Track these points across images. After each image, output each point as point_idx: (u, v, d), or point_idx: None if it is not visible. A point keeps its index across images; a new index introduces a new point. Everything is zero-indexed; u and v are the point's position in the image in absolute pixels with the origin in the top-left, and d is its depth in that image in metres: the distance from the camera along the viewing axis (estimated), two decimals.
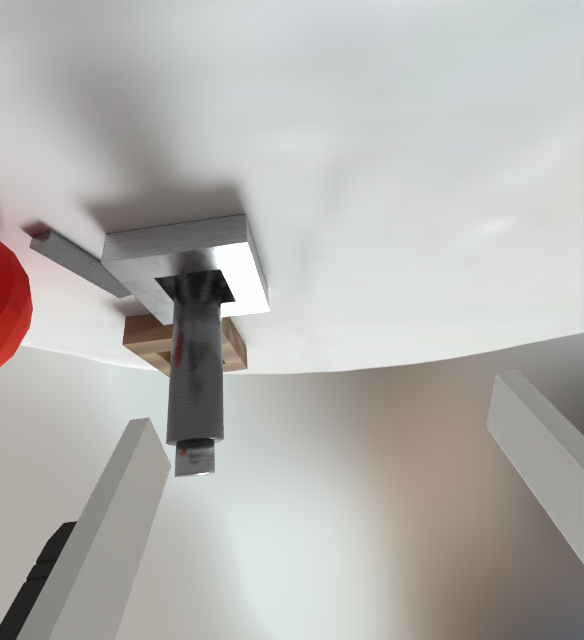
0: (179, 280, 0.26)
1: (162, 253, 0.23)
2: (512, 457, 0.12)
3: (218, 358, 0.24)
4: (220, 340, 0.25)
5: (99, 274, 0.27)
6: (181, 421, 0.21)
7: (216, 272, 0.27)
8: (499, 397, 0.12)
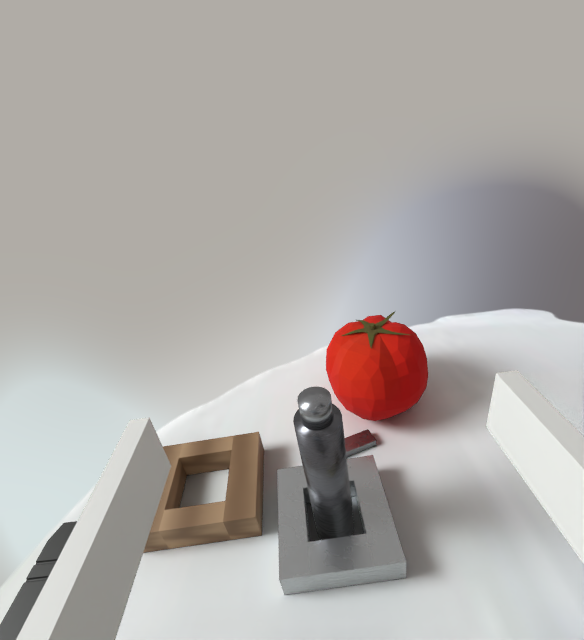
0: None
1: (384, 493, 0.32)
2: (512, 457, 0.12)
3: (334, 482, 0.27)
4: (332, 496, 0.27)
5: None
6: None
7: (343, 533, 0.30)
8: (499, 397, 0.12)
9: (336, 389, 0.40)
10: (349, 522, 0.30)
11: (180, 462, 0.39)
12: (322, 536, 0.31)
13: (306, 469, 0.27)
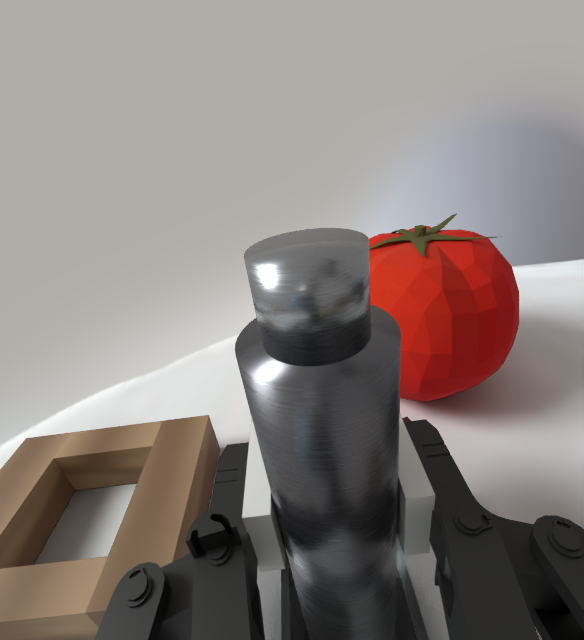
0: None
1: None
2: None
3: (361, 546, 0.09)
4: (354, 582, 0.09)
5: None
6: None
7: None
8: None
9: None
10: (389, 631, 0.12)
11: (58, 466, 0.21)
12: None
13: (278, 501, 0.09)
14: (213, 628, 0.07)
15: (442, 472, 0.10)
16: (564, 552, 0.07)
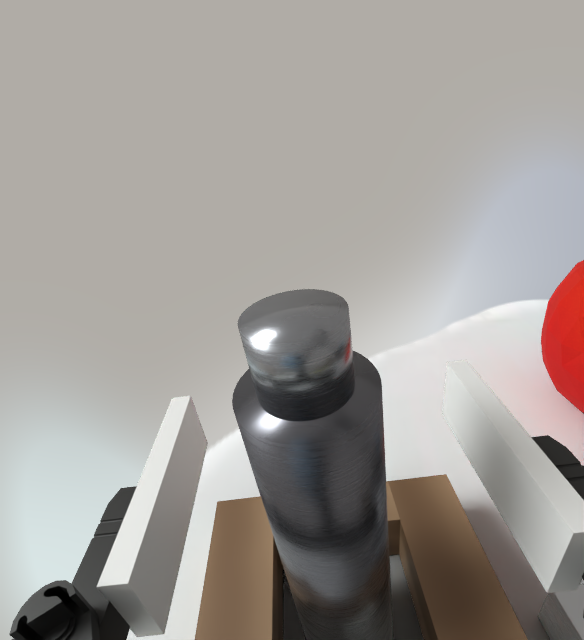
0: None
1: None
2: (461, 440, 0.13)
3: (353, 576, 0.09)
4: (348, 608, 0.10)
5: None
6: None
7: None
8: (449, 385, 0.13)
9: None
10: None
11: None
12: None
13: (275, 534, 0.10)
14: None
15: None
16: None
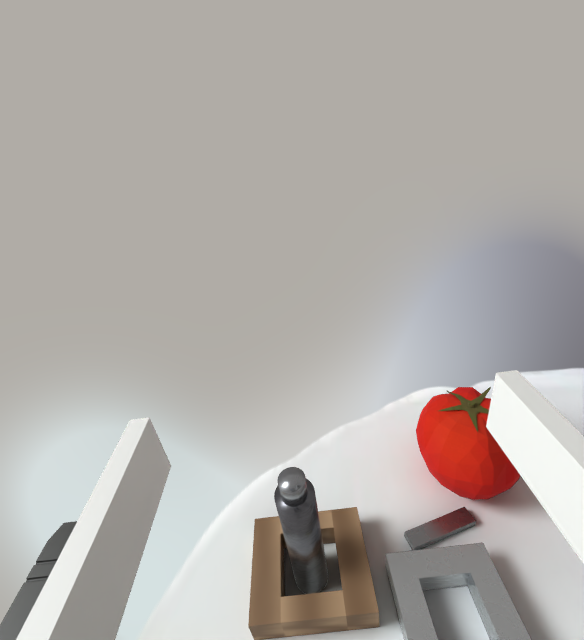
0: None
1: (506, 591, 0.32)
2: (512, 457, 0.12)
3: (307, 546, 0.32)
4: (306, 557, 0.32)
5: (439, 532, 0.38)
6: None
7: (317, 585, 0.35)
8: (499, 397, 0.12)
9: (434, 466, 0.40)
10: (322, 576, 0.35)
11: (281, 537, 0.39)
12: (299, 586, 0.36)
13: (284, 534, 0.32)
14: None
15: None
16: None
